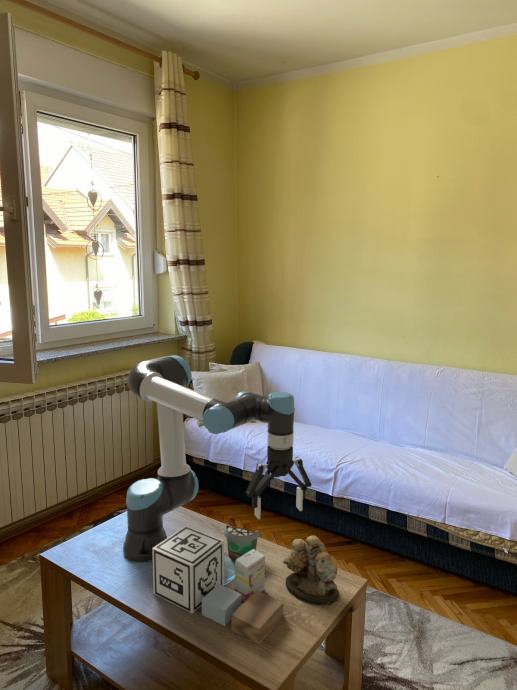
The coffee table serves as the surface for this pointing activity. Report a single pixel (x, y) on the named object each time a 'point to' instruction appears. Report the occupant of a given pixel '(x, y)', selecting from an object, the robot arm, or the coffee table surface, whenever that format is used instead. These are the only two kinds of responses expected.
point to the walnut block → (257, 617)
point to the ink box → (249, 574)
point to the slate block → (221, 604)
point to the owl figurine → (311, 572)
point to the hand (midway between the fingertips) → (278, 512)
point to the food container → (240, 541)
